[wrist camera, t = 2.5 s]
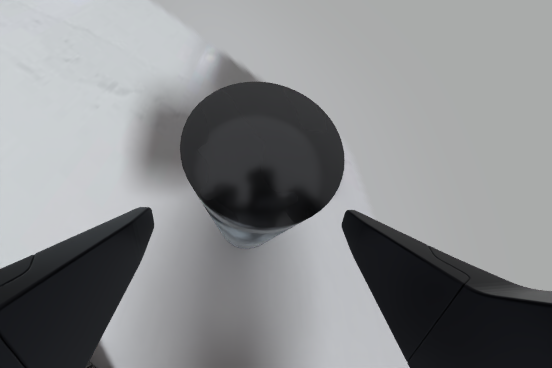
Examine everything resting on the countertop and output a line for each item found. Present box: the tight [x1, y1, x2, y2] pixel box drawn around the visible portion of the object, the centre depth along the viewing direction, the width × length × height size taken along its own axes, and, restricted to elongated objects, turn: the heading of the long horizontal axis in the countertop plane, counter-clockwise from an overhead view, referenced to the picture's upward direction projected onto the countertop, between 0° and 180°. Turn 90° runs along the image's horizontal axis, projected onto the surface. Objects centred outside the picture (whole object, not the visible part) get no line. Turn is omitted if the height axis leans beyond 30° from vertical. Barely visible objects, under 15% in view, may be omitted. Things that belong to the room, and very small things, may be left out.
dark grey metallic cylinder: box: [180, 82, 344, 249], centre depth 12 cm, size 5×5×13 cm
